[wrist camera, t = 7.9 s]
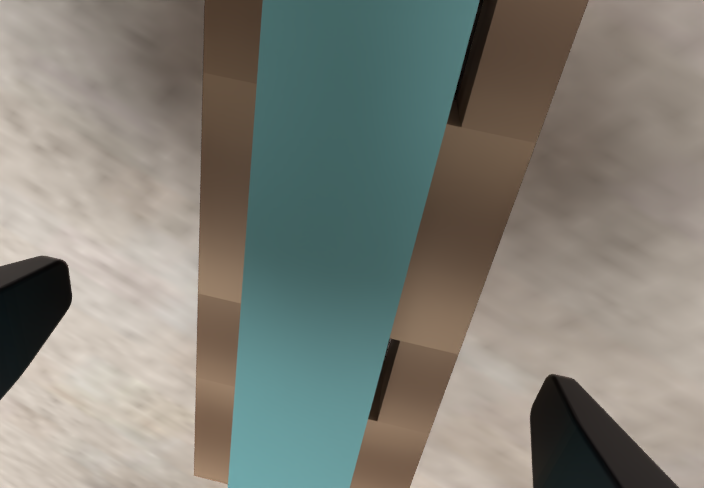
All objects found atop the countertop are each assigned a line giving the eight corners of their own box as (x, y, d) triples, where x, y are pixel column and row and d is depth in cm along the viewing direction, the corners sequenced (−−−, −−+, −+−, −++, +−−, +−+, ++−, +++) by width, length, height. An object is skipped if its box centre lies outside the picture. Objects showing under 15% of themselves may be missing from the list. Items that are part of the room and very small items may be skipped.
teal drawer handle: (367, 360, 19) (336, 538, 13) (292, 342, 19) (226, 510, 13) (470, -59, 12) (506, -100, 6) (353, -81, 12) (272, -145, 6)
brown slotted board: (400, 459, 21) (395, 526, 19) (222, 415, 22) (193, 475, 19) (664, -325, 10) (749, -440, 7) (273, -389, 10) (215, -519, 7)
